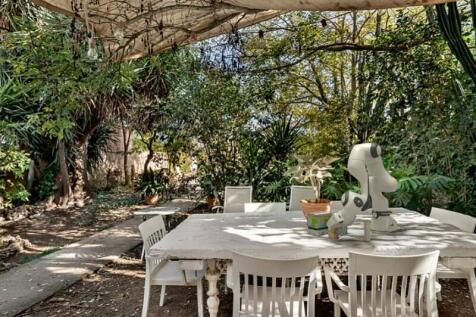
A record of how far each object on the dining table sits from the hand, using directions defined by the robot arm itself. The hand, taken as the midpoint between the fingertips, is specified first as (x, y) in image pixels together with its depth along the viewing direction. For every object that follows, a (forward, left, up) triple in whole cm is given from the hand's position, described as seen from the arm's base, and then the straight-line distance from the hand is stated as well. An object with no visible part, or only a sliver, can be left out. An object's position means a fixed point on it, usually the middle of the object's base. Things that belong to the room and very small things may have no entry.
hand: (335, 229), depth 246 cm
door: (-7, -5, -6) cm, 11 cm away
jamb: (-15, +14, -6) cm, 21 cm away
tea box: (-2, -18, -7) cm, 19 cm away
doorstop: (0, -2, -6) cm, 7 cm away
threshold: (-15, +3, -6) cm, 16 cm away
